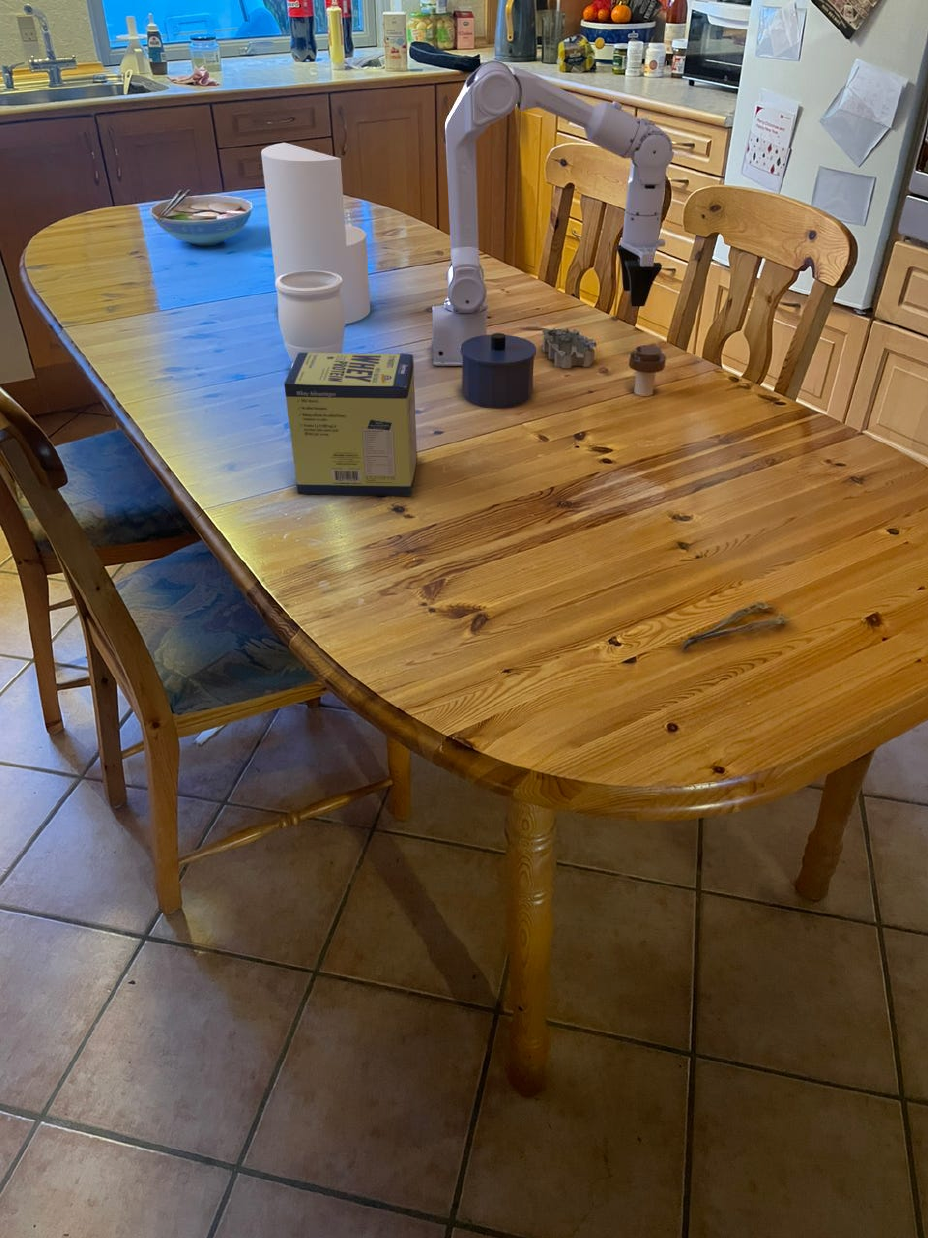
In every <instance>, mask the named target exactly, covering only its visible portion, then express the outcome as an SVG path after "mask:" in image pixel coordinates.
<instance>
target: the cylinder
mask: <svg viewBox="0 0 928 1238" xmlns="http://www.w3.org/2000/svg"><path fill="white" fill-rule="evenodd" d="M260 155H261V163H262V172H263V173H262V174H263V183H264V191H265V200H266V208H267V217H268V226H269V227H268V228H269V233H270V234H269V235H270V243H271V244H270V245H271V252H272V262H273V270H274V277H275V279H274V280H276V279H277V278H278V277H279V276H281V275H284V274H287V273H291V272H296V271H307V270H316V271H326V272H331V273H335V274H337V275H339V276H340V277H341V278H342V286H341V288H340V289H339V291H340V294H341V297H342V301H343V306H344V313H345V325H349V324H353V323H356V322H359V321H361V320H363V319H365V318H366V317H367V316H368V315H369V314H370V313H371V298H370V296H371V295H370V278H369V262H368V260H369V259H368V243H367V232H366V231H365V230H364V229H362V228H360V227H359V226H354V225H351V224H346V217H345V204H344V203H345V202H344V189H343V175H342V174H343V173H342V159H341V158H340V157H336V156H333V155H329V154H326V153H323V152H318V151H316V150H312V149H309V148H305V147H301V146H297V145H294V144H291V143H287V142H281V143H276V144H272V145H267V146H266V147H264V148H262V149H261V152H260ZM279 293H280V292H279V291H278V290H277V289H276V296H277V299H278V298H279Z"/></svg>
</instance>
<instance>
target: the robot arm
mask: <svg viewBox="0 0 928 1238" xmlns="http://www.w3.org/2000/svg"><path fill="white" fill-rule="evenodd" d="M511 69H512V70H513V71H512V70H511ZM511 69H510V67H509V66H508V65H507V64H506V63H504V62H502V61H500V60H496V59H495V60H488V61H484V63H482V64H481V65H479V66H478V67H477V68H476V69H475V70H474V71H473V72H472V73H471V74H470V75H469V76H467V78H466V80H465V82H464V85H463V87H462V89H461V91H460V93H459V95H458V97H457V99H456V100H455V103H454V104H453V106H452V108H451V110H450V112H449V114H448V115H447V117H446V119H445V125H444V130H445V133H444V134H445V152H446V153H445V154H446V172H447V173H446V174H447V175H446V176H447V193H448V216H449V235H450V236H449V239H450V262H449V265H448V268H447V269H446V275H445V277H446V279H445V280H446V283H447V290H446V291H447V292H446V293H447V295H446V296H447V297H446V299H445V300H444V301H443V304H440V305H434V306H432V339H431V340H430V348H431V349H430V350H431V351H432V352H433V354H432V355H433V356H432V357H433V360H432V361H433V366H434V367H462V355H461V353H460V346H461V344H462V343H463V342H465V341H466V340H468V339H470V338H473V337H477V336H482V335H488V301H487V299H486V298H487V295H488V293H487V291H488V290H487V285H486V283H485V280H484V279H485V272H484V270H483V269H484V268H483V267H482V265H481V262H480V249H479V247H480V246H479V244H480V243H479V215H478V214H479V212H478V211H479V210H478V183H477V182H478V180H477V145H476V144H477V143H476V140H477V139H478V138H479V137H480V135H482V134H483V133H484V132H485V131H486V130H487V129H488V128H489V126H490V125H491V124H493V123H496V122H497V121H500V120H501V119H503V118H505V117H506V116H508V115H510V114H511V113H512V112H513V110H514V109H515V108H516V107H517V109H518V111H519V112H524V111H528V110H532V109H536V108H539V109H541V110H543V111H545V112H548V113H549V114H552V115H554V116H557V117H559V118H561V119H564V120H565V121H567V122H569V123H572V124H574V125H575V126H578V127H581V128H582V129H584V132H585V136H586V140H587V141H588V142H589V143H592V144H593V145H596V146H598V147H600V148H602V149H604V150H606V151H608V152H610V153H612V154H614V155H616V156H617V157H620V158H621V159H630V160H631V161H630V169H629V178H628V181H627V189H626V199H625V202H626V203H625V210H624V219H623V228H622V237H621V239H620V244H617V245H616V246H615V249H616V251H617V255H618V258H619V262H620V270H621V271H620V272H621V281H622V282H621V283H622V289H623V291H624V292H629V299H630V305H631V307H645V305H646V303H647V300H648V298H649V294H650V291H651V289H652V286H653V284H654V281H655V279H656V278H657V276H658V275H659V274H660V272H661V271H662V269H663V265H662V264H661V262H655V257H656V253H657V250H658V249H659V247H665V246H666V240H665V239H664V238H659V236H660V229H661V221H662V213H663V207H664V197H665V191H666V190H665V189H666V175H667V168H668V167H669V165H670V164H671V163H672V161H673V159H674V156H675V151H674V150H673V143H672V140H671V138H670V136H669V135H668V134H667V133H666V132H665V131H664V130H663V129H661V127H660V126H658V125H656V124H655V123H654V122H651V121H650V119H649V118H648V117H645V116H643V117H641V118H640V117H637V116H636V115H634V114H632V113H630V112H627V111H626V110H624V109H623V105H622V103H620V102H619V101H617V100H613V101H612V103H610V102H608V101H603V102H600V103H597V104H594V105H592V104H590V103H588V102H586V101H584V100H583V99H580V98H579V97H577V96H576V95H573V94H572V93H570V92H568V91H566V90H565V89H563V88H561V87H559V86H557V85H556V84H553V83H552V82H550V81H548V80H547V79H545V78H543V77H540V76H539V75H537V74H535V73H532V72H529V71H526V70H524V69H522V68H519V67H517V66H516V67H515V66H511ZM513 73H514V74H513Z"/></svg>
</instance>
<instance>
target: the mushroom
mask: <svg viewBox="0 0 928 1238" xmlns="http://www.w3.org/2000/svg"><path fill="white" fill-rule="evenodd" d="M666 362H667V356H666V355H665V353H663V351H662V349H661V348H660V347H658V346H655V345H639V346H637V347H635V350H634V351H632V352H631V353H629V361H628V366H629V368H630V369H631V370H633V371H635V378H634V379H635V380H634V387H633V388H634V389H633V393H634V394H635V395H637V396H641V397H649V396H652V395H653V394H654V388H655V380H656V373H659V372H662V371H664V370H665V368H666Z"/></svg>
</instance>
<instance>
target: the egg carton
mask: <svg viewBox="0 0 928 1238" xmlns="http://www.w3.org/2000/svg"><path fill="white" fill-rule="evenodd" d="M541 332H542V337H543V339H542V351H543V352H544V353H548V356H547V357H548V359H549V360H554V362H553V363H554V366H555V367H558V368H562V369H566V370H567V369H571V367H574V366H581V367H582V368H589V367H590V366H591V365H592V364H593V363H594V359H595V349H594V348H597V347H598V346H597V345H598V344H597V341H596V340H595V339H590V338H588V336H585V335H583V334H580V331H579V330H577V328H575V329H573V331H569V328H568V327H566V328H565V329H563V328H554V327H553V328H552V329H549V328H545V327H542V328H541Z"/></svg>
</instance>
